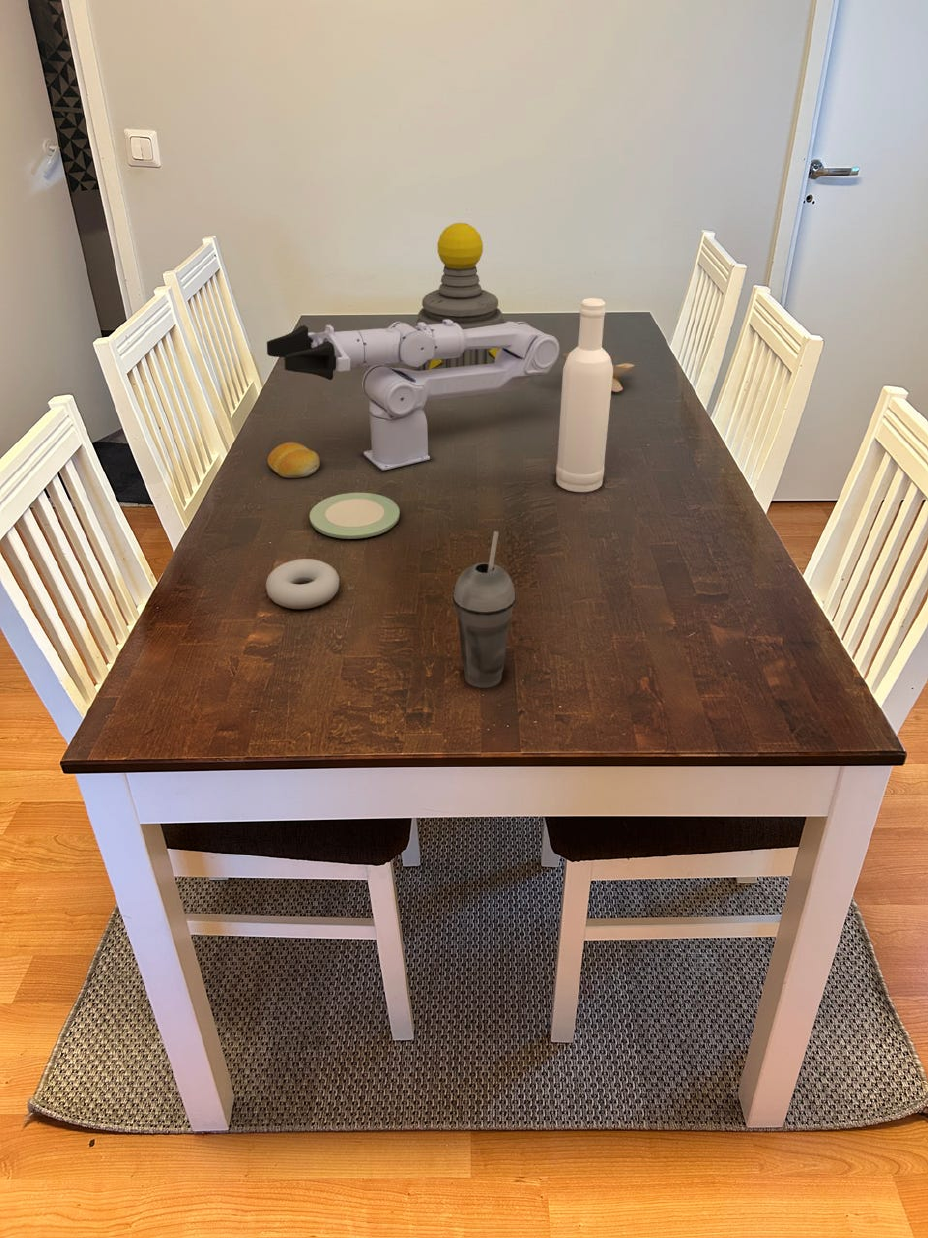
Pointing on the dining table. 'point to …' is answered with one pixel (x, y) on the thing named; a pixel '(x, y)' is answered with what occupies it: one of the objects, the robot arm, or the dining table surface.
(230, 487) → the dining table surface
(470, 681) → the beverage cup
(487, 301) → the decorative lamp
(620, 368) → the decorative flower
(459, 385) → the robot arm
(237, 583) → the dining table surface
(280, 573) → the donut
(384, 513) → the plate
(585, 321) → the bottle
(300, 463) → the bread roll
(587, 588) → the dining table surface
